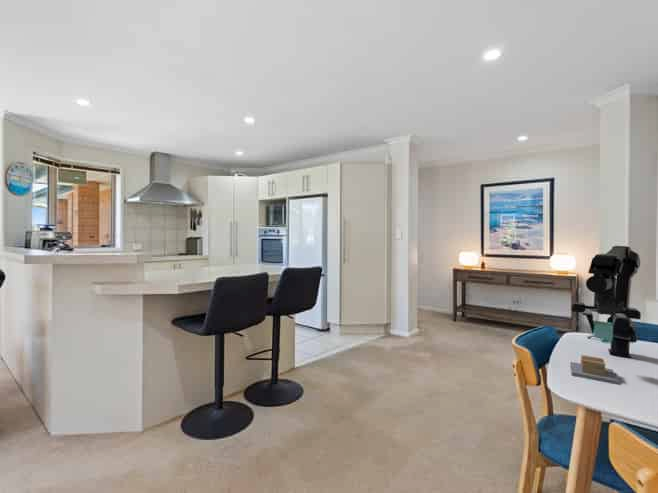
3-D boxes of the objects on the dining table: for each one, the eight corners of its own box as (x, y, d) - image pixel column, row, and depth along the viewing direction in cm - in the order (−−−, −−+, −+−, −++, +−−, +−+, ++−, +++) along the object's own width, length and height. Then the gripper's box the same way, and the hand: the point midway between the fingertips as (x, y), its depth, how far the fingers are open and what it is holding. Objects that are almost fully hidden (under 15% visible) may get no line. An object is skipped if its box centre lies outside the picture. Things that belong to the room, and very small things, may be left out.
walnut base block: (580, 365, 121) (581, 354, 121) (602, 369, 118) (602, 358, 118) (582, 371, 116) (582, 360, 116) (604, 376, 113) (605, 364, 113)
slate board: (570, 364, 125) (570, 361, 125) (612, 372, 119) (612, 369, 119) (571, 375, 116) (571, 372, 116) (617, 384, 109) (617, 381, 109)
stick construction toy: (606, 339, 147) (595, 322, 151) (588, 345, 151) (579, 328, 156) (615, 342, 154) (605, 325, 158) (598, 347, 158) (589, 331, 162)
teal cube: (592, 334, 124) (593, 320, 123) (610, 336, 121) (611, 322, 121) (594, 337, 119) (594, 323, 119) (612, 340, 117) (613, 325, 116)
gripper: (573, 290, 118) (571, 334, 118) (646, 296, 108) (642, 345, 108) (571, 286, 127) (569, 327, 128) (638, 292, 117) (635, 337, 118)
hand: (602, 334), depth 120 cm, fingers closed on teal cube, 5 cm apart
